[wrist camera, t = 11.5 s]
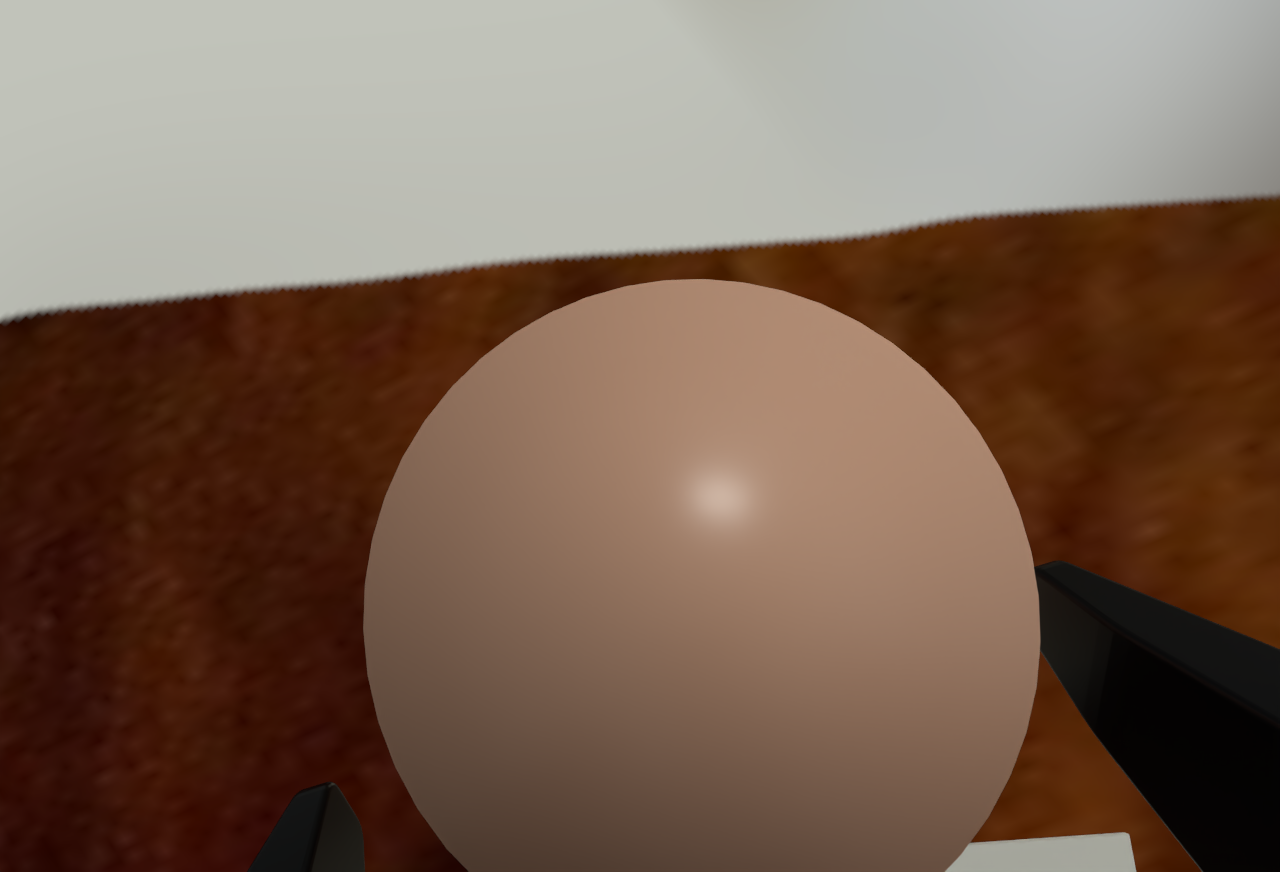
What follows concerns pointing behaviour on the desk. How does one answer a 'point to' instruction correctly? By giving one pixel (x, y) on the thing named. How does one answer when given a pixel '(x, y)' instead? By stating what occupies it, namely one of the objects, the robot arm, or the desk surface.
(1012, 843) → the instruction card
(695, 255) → the desk surface
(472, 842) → the column
